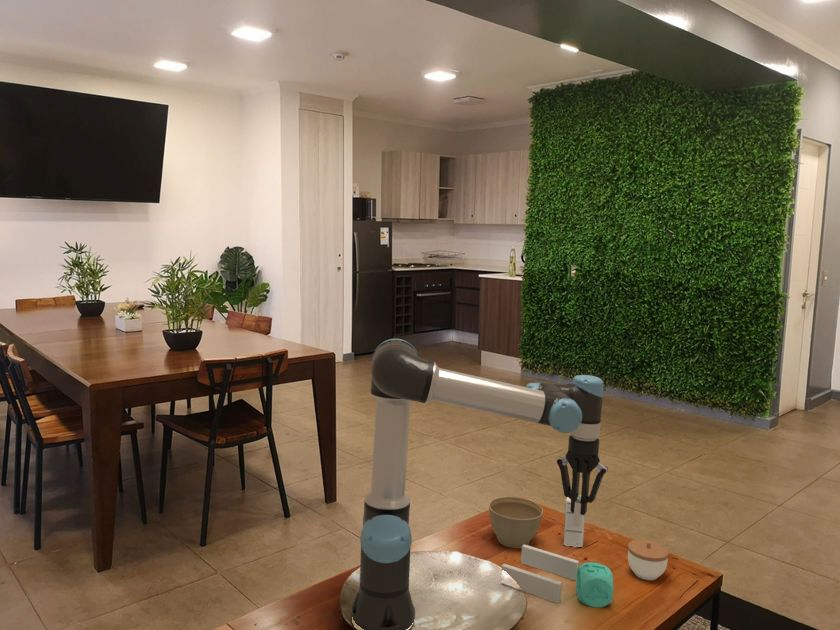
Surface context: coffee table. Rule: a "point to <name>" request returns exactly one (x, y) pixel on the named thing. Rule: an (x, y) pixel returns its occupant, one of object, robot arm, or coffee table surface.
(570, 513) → the syrup box
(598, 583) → the decorative dice
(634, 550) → the lidded jar
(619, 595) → the coffee table surface
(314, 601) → the coffee table surface
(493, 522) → the planter bowl
